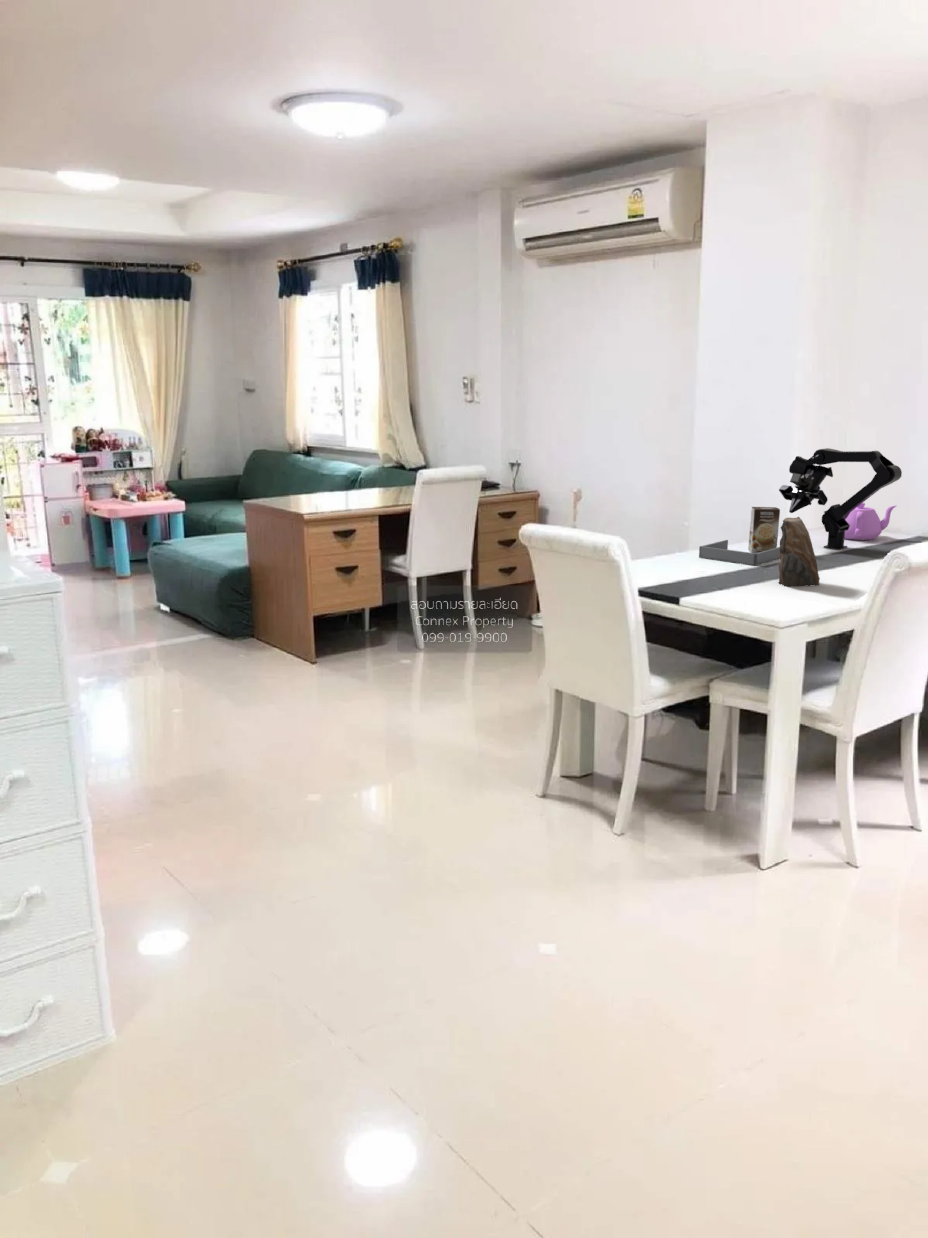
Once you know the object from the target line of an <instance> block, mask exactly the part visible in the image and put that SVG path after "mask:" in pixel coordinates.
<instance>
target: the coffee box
mask: <svg viewBox="0 0 928 1238" xmlns="http://www.w3.org/2000/svg"><path fill="white" fill-rule="evenodd" d="M750 510H751V511H750V522H749V535H748V536H749V537H748V547H747V548H748V549H747V550H748V552H749V553H759V552H763V551H767V550H770V549H774V548H777V547H778V537H779V526H780V525H779V524H780V517H781V515H780V514H781V509H780V508H778V507H774V506H773V507H772V506H771V507H770V506H751V509H750Z"/></svg>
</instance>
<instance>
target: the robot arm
mask: <svg viewBox="0 0 928 1238" xmlns="http://www.w3.org/2000/svg"><path fill="white" fill-rule="evenodd" d="M841 462H842V463H847V462H848V463H869V464H870V466H871V468H872V469H873V471H874V472H875V474H874V476H873V478H872V480H870V482H868V483H867V484H866V485H865V486H863V487H862V488H861V489H859V491H857V492H856V493H854V494H853V495H852V496H851V497H849V498H848V499H847V500H846V501H844V502H843V503H842V504H841V503H836V504H833V505H831V506H830V507H829V508H828V509H827V510H825V511H823V514H822V516H821V523H822V525H823V527H824V529H825V532H826V533H828V536H827V545H823V548H826V549H835V550H843V549H847V548H848V545H845V531H847V530H848V529H849V527H850V525H849V524H848V522H847V521H846V520H845V519H846V518H847V517H848V515H849V514H850V512H851V511H853V510H854V509H855V508H856V507H858V506H859V505H860V504H862V503H865V502H866V501H867V500H868V499H870V497H872V496H873V495H875V494H876V493H877V492H879V491H880V490H881V489H883V488H885V487H887V486H889V485H891V484H893V483H895V482H897V481H899V480H900V479H901V478H902V475H903V474H902V472H903V471H902V469H901V468H900V467H899V465H896V464H894V463H893V462H892V460H890V459H889V458H887V457H886V456H884V455H883V454H882V453H881V452H880V451H879V450H871V451H870V450H869V451H868V450H867V451H866V450H865V451H863V450H862V451H861V450H859V451H852V450H851V451H845V450H844V451H843V450H838V449H834V448H827V447H826V448H819V449H817V450H815V451H814V453H813V455H812V456H811V457H810V458H808V459H806V458H804V457H802V456H801V455H798V456H795V459H794V460H793V461H792V462H791V464H790V465H789V467H788V468H789V470H788V471H789V473H790V474H792V475H791V477H790V480H789V482H790V483H792V484H794V488H793V487H792V485H786V484H783V485H781V486H780V487H779V488H778V491H779V492H780V495H781V496H782V497H783V499H784V500H787V501H791V502H790V507H789V511H788V512H789V513H790V514H793V513H795V512H797V511H799V510H801V509H803V508H805V507H807V506H811V505H812V502H813V501H814V500H817V505H820V506H826V504H827V502H828V497H827V495H826V494H825V492H824V490H822V489H821V484H822V483H823V481H825V479H826V477H831V478H833V477H834V473H833V469H832V467H831V466H829V467H828V466H827V467H826V466H824V465H829V464H834V463H835V464H836V463H841Z"/></svg>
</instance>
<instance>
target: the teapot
mask: <svg viewBox="0 0 928 1238" xmlns="http://www.w3.org/2000/svg"><path fill="white" fill-rule="evenodd" d="M897 506H898V505H897V504H896V505H892V506H888V507H887V509H886V510H885V515H884V517H883V519H880V517H879V515H878V513H877V511H876V510H875V508H873V507H869V506H866V503H865V502H863V503H862V504H860V505H859V506H858V507H856V508H855V509H854V510H853V511H851V512H850V514H849V515H848V517H847V518H846V519H845V520H846V521H847V522H848V524H849V525H850V527H849V529H848V530H847V531H845V538H844V540H862V541H870V540H874V539H877V538H879V536H880V535H881V534H882V532H883V531H884V530H885V529H886V528H888V526H889V523H890V520H891V513H892V512H893V510H894V508H896V507H897Z"/></svg>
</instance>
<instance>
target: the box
mask: <svg viewBox="0 0 928 1238" xmlns="http://www.w3.org/2000/svg"><path fill="white" fill-rule="evenodd" d="M728 545H729V540H728V539H725V540H719V541H715V542H713V543H708V544H707V543H706V544H703V545H700V546H699V549H698V550H699V551H698V558H700V559H706V560H712V561H713V560H714V561H719V560H720V561H719V562H721V561H722V562H727V563H734V564H740V563H741V565H748V566H753V567H757V566H760V565H763V564H767V563H771V562H774V561H776V560H777V561H778V560H780V558H779V548H780V546H777V548H774V549H770V550H767V551H763V552H759V553H751V552H750V551H748V552H747V551H742V550H741V551H740V550H733V549H729V548H728V547H729V546H728ZM773 560H774V561H773ZM762 563H763V564H762Z"/></svg>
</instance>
